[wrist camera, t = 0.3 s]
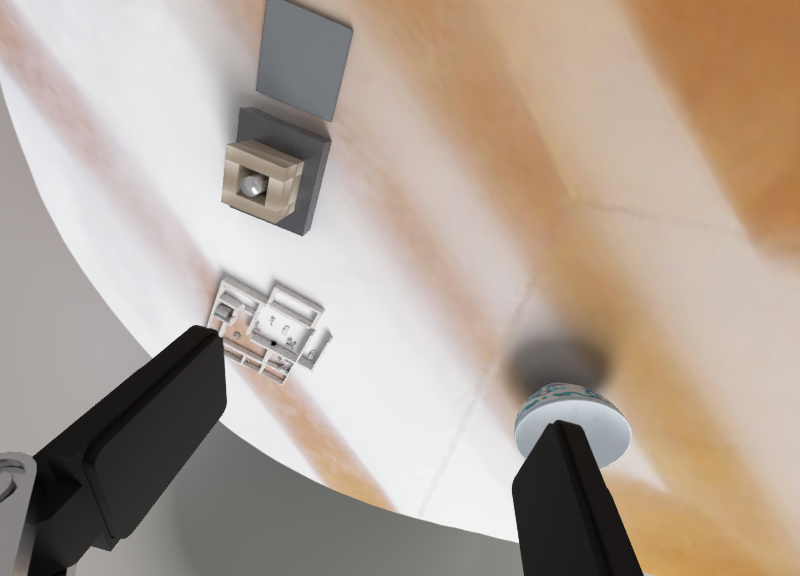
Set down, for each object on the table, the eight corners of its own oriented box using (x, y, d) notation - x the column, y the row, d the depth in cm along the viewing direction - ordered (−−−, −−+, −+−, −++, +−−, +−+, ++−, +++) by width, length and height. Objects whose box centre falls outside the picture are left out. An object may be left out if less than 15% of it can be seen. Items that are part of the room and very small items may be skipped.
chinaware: (513, 433, 59) (520, 475, 52) (502, 365, 53) (508, 404, 46) (609, 428, 55) (630, 473, 49) (610, 355, 49) (634, 395, 42)
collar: (252, 139, 40) (226, 144, 35) (304, 161, 40) (285, 168, 36) (245, 191, 43) (221, 202, 38) (293, 211, 43) (275, 223, 39)
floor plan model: (361, 290, 50) (357, 297, 49) (300, 389, 62) (296, 398, 61) (244, 223, 48) (236, 228, 46) (205, 340, 60) (197, 347, 58)
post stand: (251, 107, 40) (208, 108, 33) (331, 140, 41) (305, 149, 34) (240, 201, 46) (200, 219, 39) (309, 230, 47) (283, 252, 40)
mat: (271, -5, 35) (268, -7, 34) (353, 30, 35) (351, 29, 35) (258, 90, 39) (255, 90, 39) (331, 121, 40) (330, 122, 39)
